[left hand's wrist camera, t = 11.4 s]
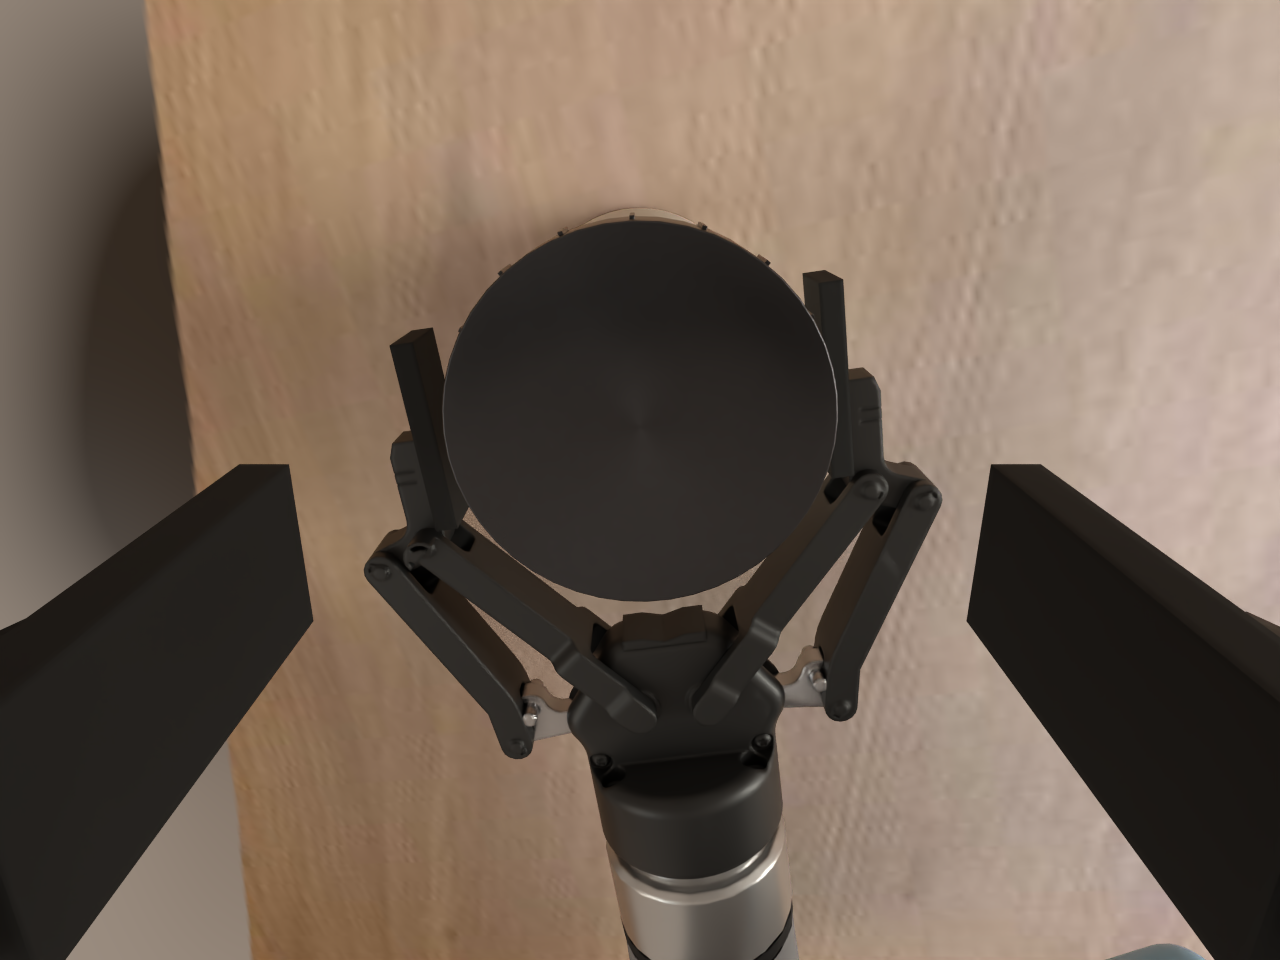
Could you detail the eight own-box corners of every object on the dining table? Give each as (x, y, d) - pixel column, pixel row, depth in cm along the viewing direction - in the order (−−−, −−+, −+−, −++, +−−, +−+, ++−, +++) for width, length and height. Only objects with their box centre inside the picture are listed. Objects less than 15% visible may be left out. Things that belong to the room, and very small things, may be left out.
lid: (710, 621, 23) (716, 659, 21) (400, 474, 22) (378, 503, 20) (894, 330, 20) (920, 345, 18) (553, 139, 19) (543, 135, 17)
